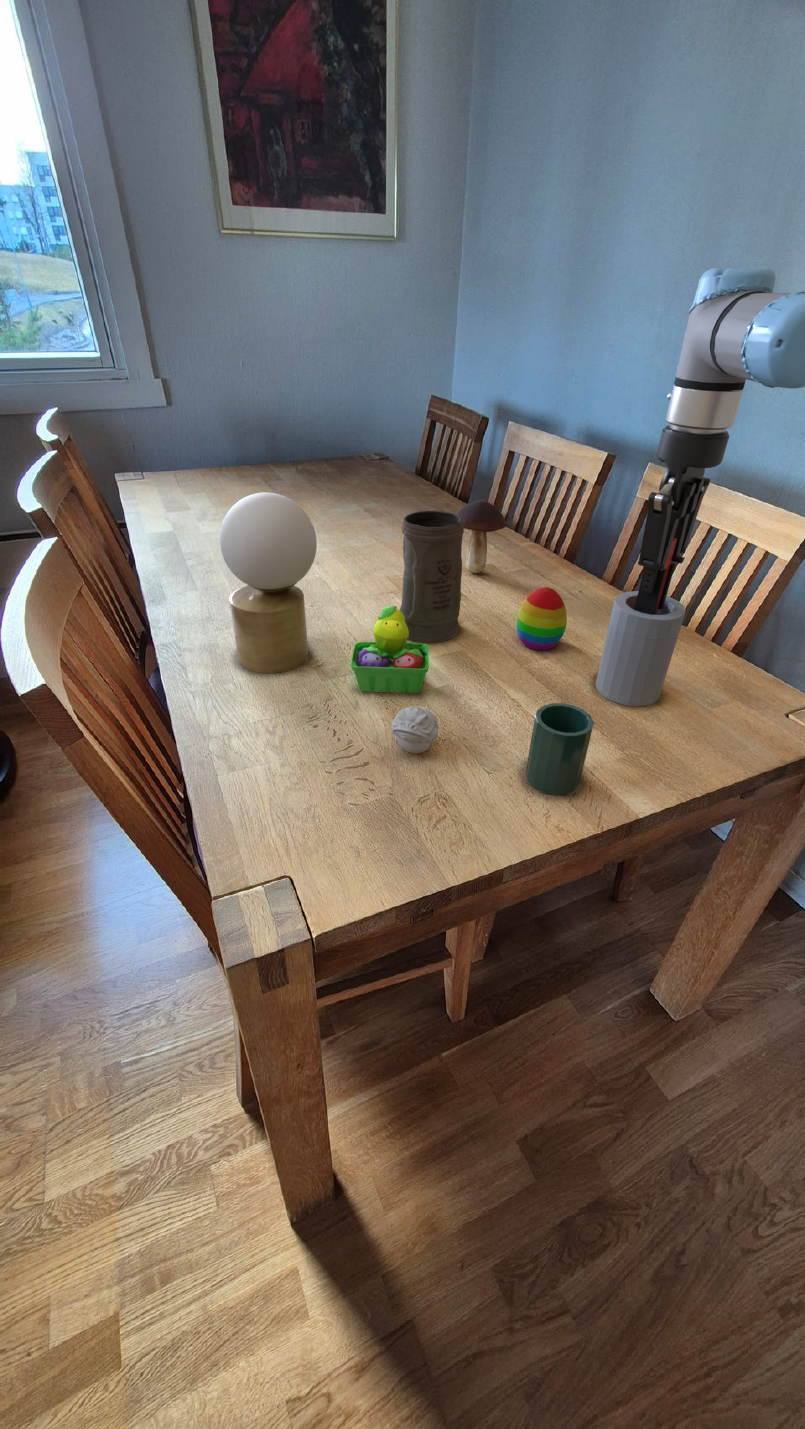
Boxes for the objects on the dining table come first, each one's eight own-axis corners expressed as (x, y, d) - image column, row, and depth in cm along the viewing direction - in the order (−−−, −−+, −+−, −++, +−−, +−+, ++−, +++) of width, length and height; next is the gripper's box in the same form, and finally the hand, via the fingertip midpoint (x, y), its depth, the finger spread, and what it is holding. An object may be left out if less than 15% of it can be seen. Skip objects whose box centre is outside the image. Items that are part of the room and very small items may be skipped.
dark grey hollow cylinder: (474, 634, 109) (479, 517, 99) (424, 650, 104) (424, 529, 93) (422, 608, 120) (422, 500, 109) (375, 621, 115) (370, 509, 104)
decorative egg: (507, 647, 106) (514, 591, 100) (522, 627, 112) (530, 574, 106) (554, 658, 103) (565, 602, 97) (567, 638, 109) (578, 584, 103)
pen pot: (589, 777, 78) (603, 718, 73) (561, 803, 74) (574, 743, 69) (544, 754, 82) (555, 696, 77) (515, 777, 78) (524, 718, 73)
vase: (670, 689, 96) (696, 604, 88) (642, 714, 90) (667, 626, 82) (613, 667, 101) (633, 585, 93) (584, 689, 95) (602, 604, 87)
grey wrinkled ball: (382, 760, 80) (383, 715, 76) (401, 730, 85) (402, 687, 81) (428, 771, 78) (430, 726, 74) (444, 740, 84) (447, 696, 80)
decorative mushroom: (510, 571, 133) (518, 500, 125) (481, 587, 126) (489, 512, 117) (467, 559, 139) (473, 490, 130) (438, 573, 132) (442, 501, 123)
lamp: (260, 624, 111) (242, 478, 96) (335, 635, 108) (328, 486, 93) (216, 665, 99) (189, 505, 84) (299, 679, 96) (285, 516, 81)
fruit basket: (350, 696, 92) (348, 627, 86) (356, 665, 100) (355, 600, 93) (427, 699, 92) (431, 630, 86) (428, 668, 99) (431, 602, 93)
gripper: (691, 415, 81) (647, 586, 94) (638, 431, 72) (597, 617, 85) (751, 424, 77) (696, 601, 90) (703, 441, 68) (650, 635, 81)
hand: (648, 608), depth 88 cm, fingers closed on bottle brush, 2 cm apart
